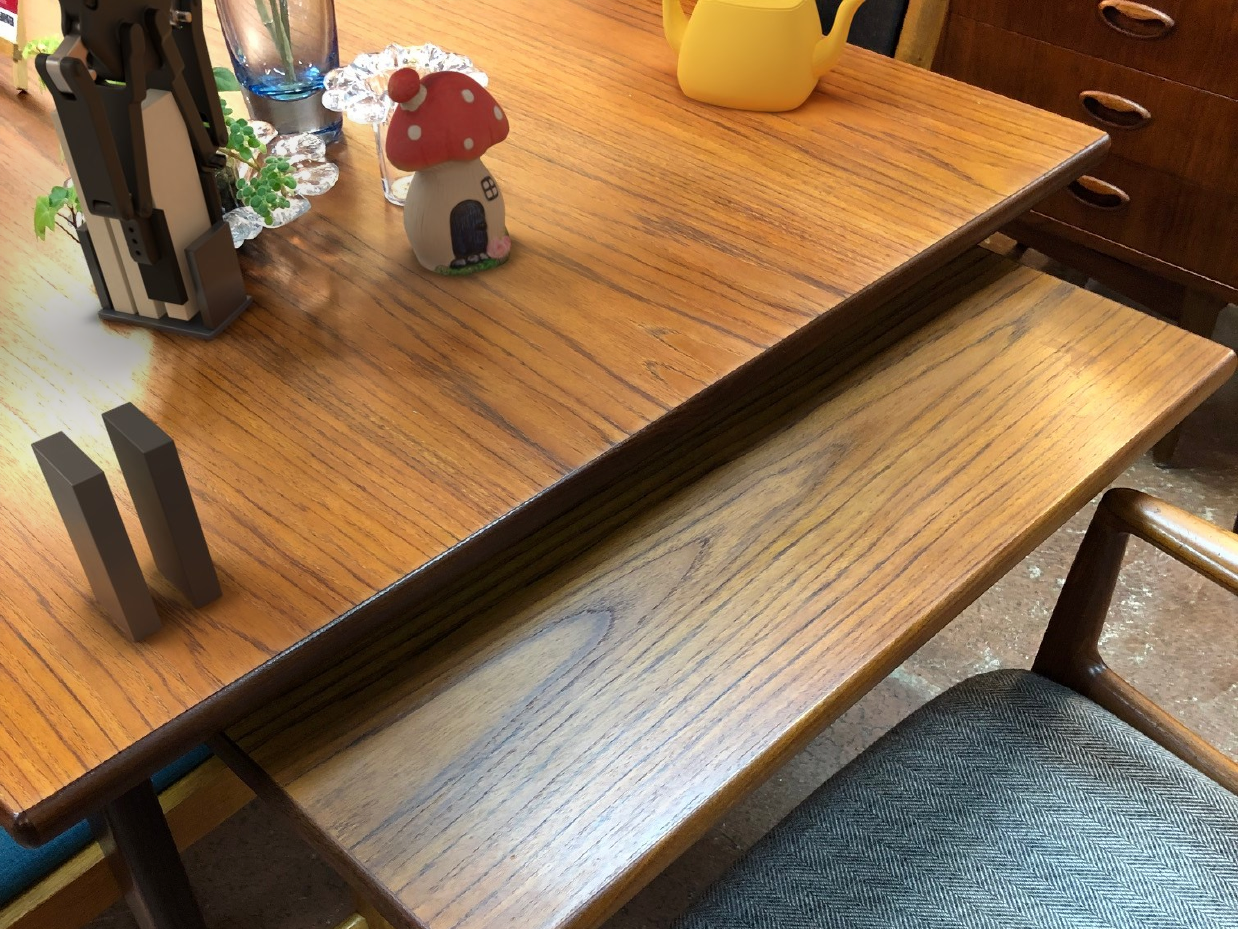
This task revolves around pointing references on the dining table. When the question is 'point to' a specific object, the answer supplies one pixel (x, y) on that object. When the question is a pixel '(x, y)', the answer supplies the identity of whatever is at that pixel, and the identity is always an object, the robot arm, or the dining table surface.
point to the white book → (174, 184)
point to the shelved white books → (112, 251)
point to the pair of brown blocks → (158, 507)
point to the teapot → (754, 50)
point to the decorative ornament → (449, 170)
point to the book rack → (211, 279)
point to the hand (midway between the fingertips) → (191, 278)
